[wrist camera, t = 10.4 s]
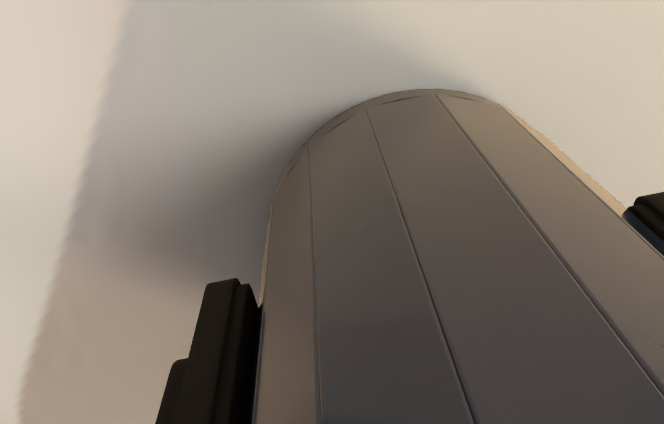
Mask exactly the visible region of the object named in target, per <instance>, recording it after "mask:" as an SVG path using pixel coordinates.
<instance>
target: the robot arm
mask: <svg viewBox="0 0 664 424" xmlns="http://www.w3.org/2000/svg"><path fill="white" fill-rule="evenodd" d="M627 209H628V210H629V211H630V212H631V213H632V214H633V215H635V216H636V217H637V218H638V219H639V220H640V221H641V222H642V223H644V224H645V225H646V226H647V227H648V228H649V229H650V230H651V231H653V232H654V233H655V234H656V235H657V236H658V237H659V238H660V239H662V240H663V241H664V192H661V193H656V194H651V195H646V196H641V197H638V198H637V199H636V200H635V202H634V206H631V207H629V208H627ZM257 316H258V306H257V303H256V300H255V297H254V294H253V291H252V288H251V286H250V284H243V285H241V284H240V282H239V280H238V279H237V278H234V279H229V280H224V281H219V282H214V283H209V284H207V286H206V288H205V292H204V296H203V300H202V304H201V309H200V313H199V317H198V321H197V325H196V329H195V333H194V337H193V341H192V345H191V349H190V353H189V357H188V358H186V359H181V360H177V361H175V362H174V363H173V365H172V368H171V370H170V373H169V377H168V381H167V384H166V388H165V391H164V395H163V398H162V402H161V406H160V409H159V413H158V416H157V420H156V423H155V424H246V422H247V412H248V402H249V393H250V383H251V374H252V364H253V354H254V345H255V335H256V325H257Z"/></svg>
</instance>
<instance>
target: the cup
mask: <svg viewBox="0 0 664 424" xmlns="http://www.w3.org/2000/svg"><path fill="white" fill-rule="evenodd" d="M246 424H664V241H663V240H662V239H660V238H659V237H658V236H657V235H656V234H655V233H654V232H653V231H651V230H650V229H649V228H648V227H647V226H646V225H645V224H644V223H642V222H641V221H640V220H639V219H638V218H637V217H636V216H635V215H633V214H632V213H631V212H630V211H629V210H628V209H627V208H626V207H624V206H623V205H622V204H621V203H620V202H619V201H618V200H617V199H615V198H614V197H613V196H612V195H611V194H610V193H609V192H608V191H606V190H605V189H604V188H603V187H602V186H601V185H600V184H599V183H597V182H596V181H595V180H594V179H593V178H592V177H591V176H590V175H588V174H587V173H586V172H585V171H584V170H583V169H582V168H581V167H579V166H578V165H577V164H576V163H575V162H574V161H573V160H572V159H570V158H569V157H568V156H567V155H566V154H565V153H564V152H563V151H561V150H560V149H559V148H558V147H557V146H556V145H555V144H554V143H552V142H551V141H550V140H549V139H548V138H546V137H545V136H543V135H542V134H541V133H539V132H538V131H536V130H535V129H533V128H532V127H531V126H530V125H528V124H527V123H526V122H525V121H524V120H522V119H521V118H520V117H519V116H518V115H516V114H515V113H513V112H511V111H510V110H508V109H506V108H505V107H503V106H501V105H500V104H497V103H495V102H493V101H490V100H488V99H485V98H483V97H480V96H476V95H472V94H469V93H465V92H461V91H453V90H444V89H416V90H409V91H403V92H396V93H392V94H388V95H385V96H381V97H378V98H374V99H372V100H369V101H367V102H365V103H362V104H360V105H357V106H355V107H353V108H351V109H349V110H348V111H346V112H344V113H343V114H341V115H339V116H337V117H336V118H334V119H333V120H331V121H330V122H329V123H327V124H326V125H325V126H324V127H322V128H321V129H320V130H318V131H317V132H316V133H315V134H314V135H313V136H312V137H311V138H310V139H309V140H308V141H307V142H306V143H305V144H304V145H303V146H302V147H301V149H300V150H299V151H298V153H297V154H296V155H295V156H294V158H293V159H292V160H291V162H290V163H289V165H288V167H287V169H286V170H285V172H284V174H283V176H282V177H281V179H280V182H279V184H278V187H277V189H276V192H275V194H274V197H273V201H272V205H271V210H270V214H269V224H268V231H267V237H266V243H265V249H264V258H263V267H262V277H261V286H260V296H259V305H258V316H257V325H256V335H255V345H254V354H253V364H252V374H251V383H250V393H249V402H248V412H247V422H246Z"/></svg>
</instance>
